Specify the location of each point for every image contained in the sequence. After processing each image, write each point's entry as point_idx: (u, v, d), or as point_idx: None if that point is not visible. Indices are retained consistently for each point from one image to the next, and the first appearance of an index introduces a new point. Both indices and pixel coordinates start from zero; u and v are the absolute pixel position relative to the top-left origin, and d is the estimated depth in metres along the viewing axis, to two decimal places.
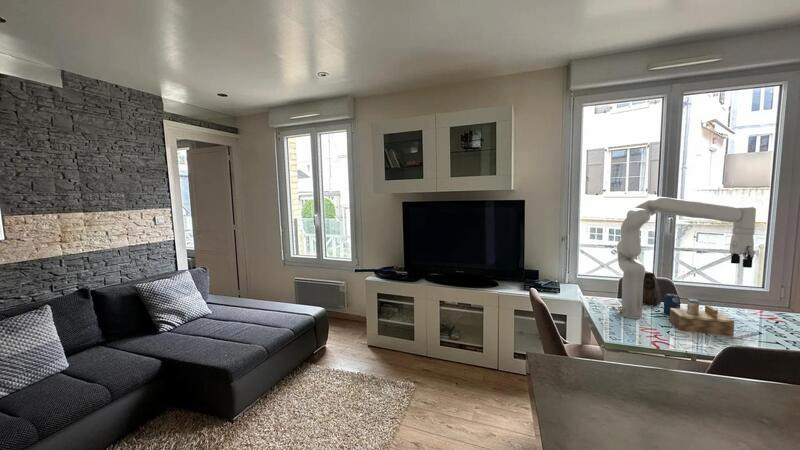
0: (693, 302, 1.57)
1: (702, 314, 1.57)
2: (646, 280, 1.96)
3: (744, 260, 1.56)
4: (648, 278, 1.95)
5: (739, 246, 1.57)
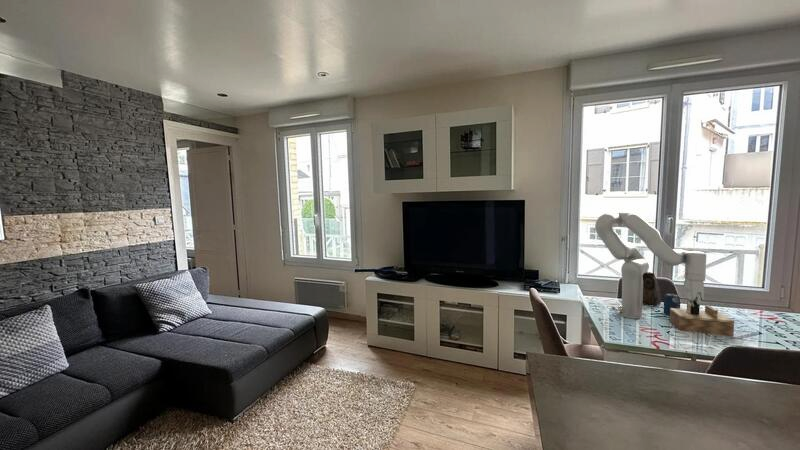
0: None
1: (702, 314, 1.57)
2: (646, 280, 1.96)
3: (692, 307, 1.57)
4: (648, 278, 1.95)
5: (690, 292, 1.56)
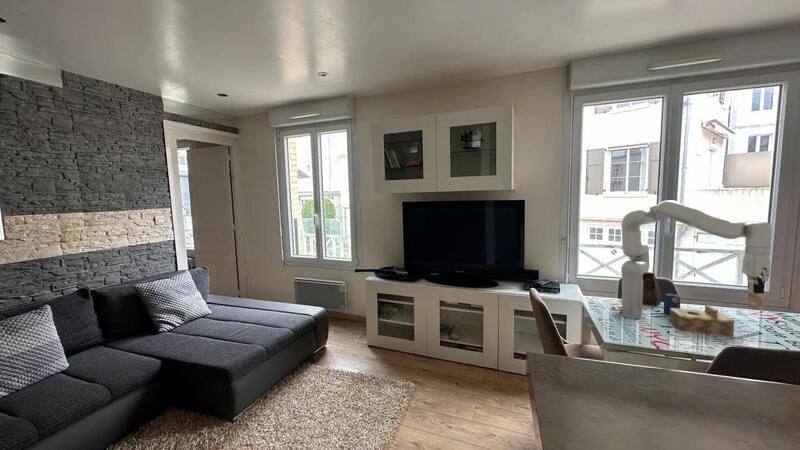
0: None
1: (702, 314, 1.57)
2: (646, 280, 1.96)
3: (755, 285, 1.39)
4: (648, 278, 1.95)
5: (753, 268, 1.38)
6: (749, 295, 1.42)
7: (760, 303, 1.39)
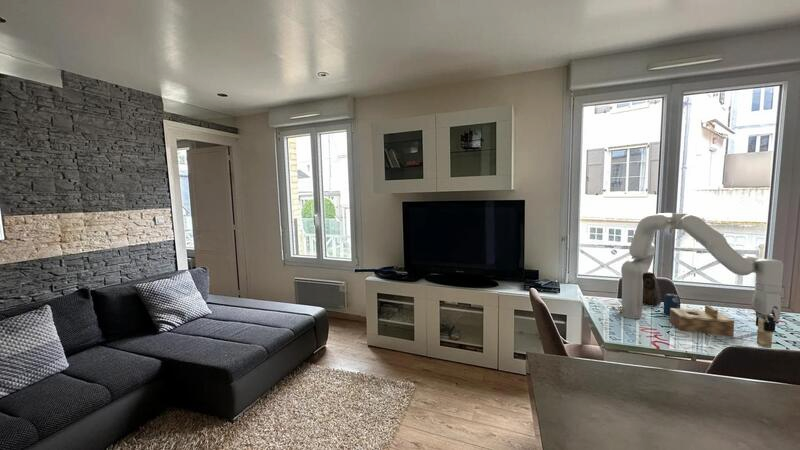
0: None
1: (702, 314, 1.57)
2: (646, 280, 1.96)
3: (766, 323, 1.37)
4: (648, 278, 1.95)
5: (763, 305, 1.36)
6: (758, 333, 1.41)
7: (769, 342, 1.38)
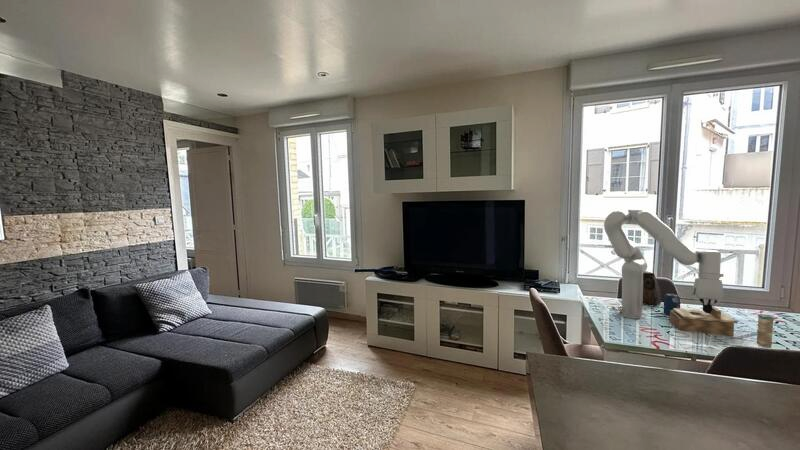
0: (766, 318, 1.38)
1: (705, 314, 1.57)
2: (646, 280, 1.96)
3: None
4: (648, 278, 1.95)
5: None
6: (758, 333, 1.41)
7: (769, 342, 1.38)
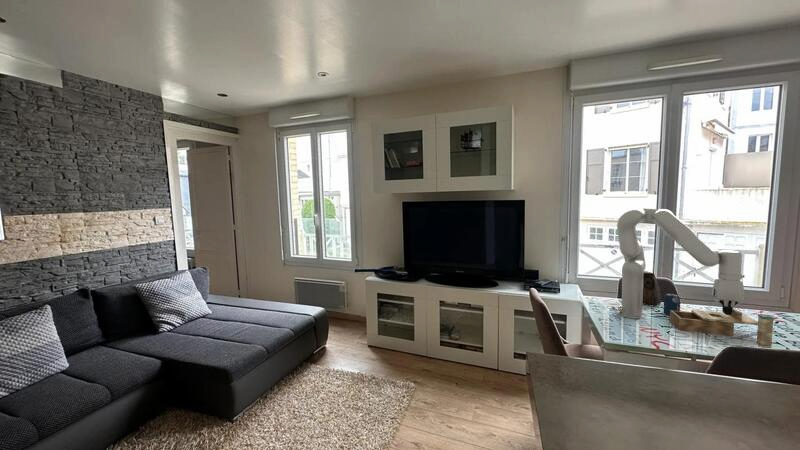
0: (766, 318, 1.38)
1: (725, 316, 1.54)
2: (646, 280, 1.96)
3: None
4: (648, 278, 1.95)
5: None
6: (758, 333, 1.41)
7: (769, 342, 1.38)
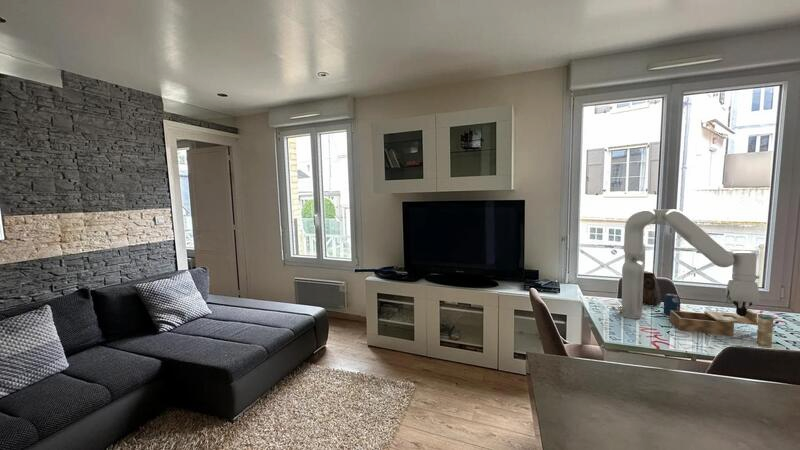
0: (766, 318, 1.38)
1: (739, 317, 1.52)
2: (646, 280, 1.96)
3: None
4: (648, 278, 1.95)
5: None
6: (758, 333, 1.41)
7: (769, 342, 1.38)
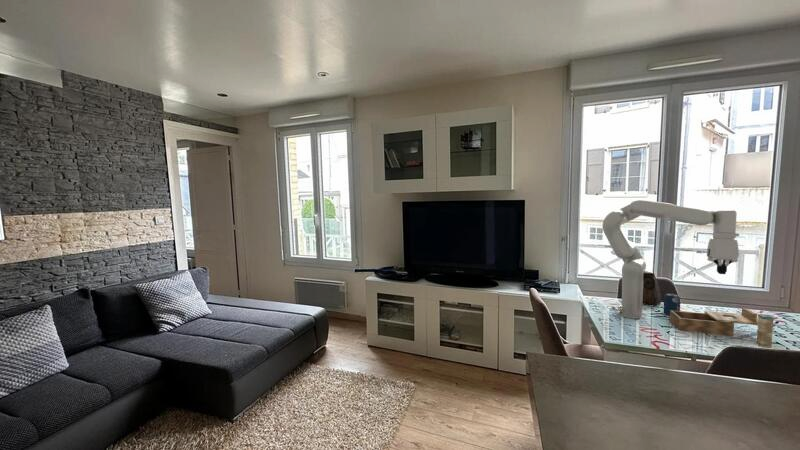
0: (766, 318, 1.38)
1: (739, 317, 1.52)
2: (646, 280, 1.96)
3: None
4: (648, 278, 1.95)
5: None
6: (758, 333, 1.41)
7: (769, 342, 1.38)
